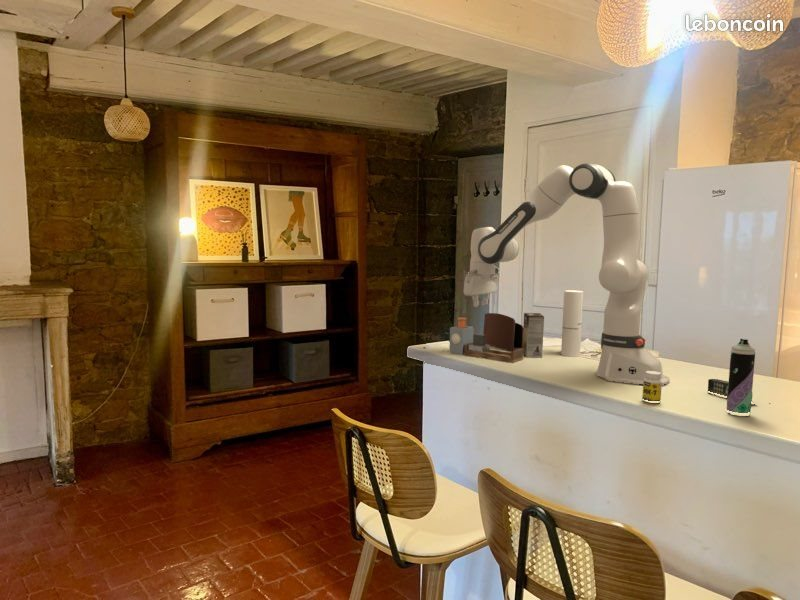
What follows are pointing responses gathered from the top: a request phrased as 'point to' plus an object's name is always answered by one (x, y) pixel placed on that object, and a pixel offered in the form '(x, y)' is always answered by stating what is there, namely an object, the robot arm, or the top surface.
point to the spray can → (741, 377)
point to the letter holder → (503, 332)
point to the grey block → (460, 339)
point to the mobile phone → (718, 386)
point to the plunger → (462, 322)
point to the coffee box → (533, 335)
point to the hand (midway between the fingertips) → (480, 306)
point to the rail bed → (496, 355)
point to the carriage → (479, 344)
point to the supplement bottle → (652, 386)
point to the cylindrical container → (572, 323)
